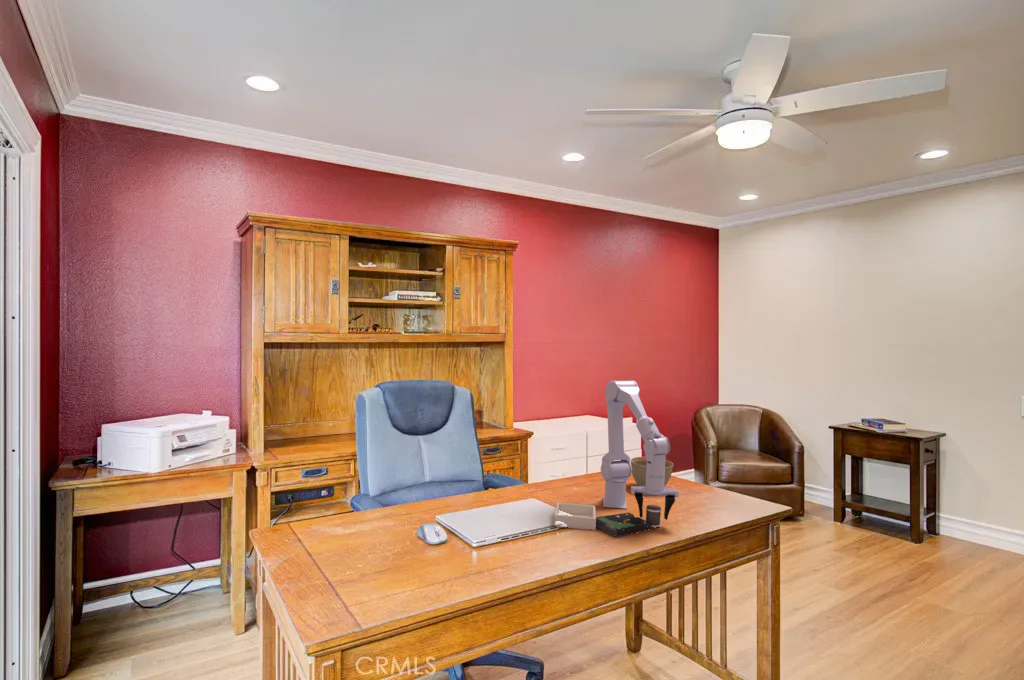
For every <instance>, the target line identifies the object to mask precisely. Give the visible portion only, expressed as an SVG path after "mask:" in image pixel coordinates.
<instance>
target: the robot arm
mask: <svg viewBox="0 0 1024 680" xmlns="http://www.w3.org/2000/svg"><path fill="white" fill-rule="evenodd" d="M640 391H641V390H640V387H639V385H638V383H637V381H636V380H610V381H609V382H608V383H607V384H606V386H605V403H606V406H607V409H606V410H607V429H608V430H607V433H608V434H607V439H608V442H607V443H608V451H607V452H606V454H605V455H603V456H602V458H601V465H600V474H601V477H602V478H603V479H604V480H605V483H604V497H602V504H603V505H602V506H603V507H604V508H610V509H623V510H624V509H626V510H627V509H628V506H627V501H626V495H627V494H626V493H627V492H626V491H627V482H628V481H629V478H630V477H631V476H632V466H631V457H630V456H629V455H628V454H627V453H625V448H624V447H625V445H624V443H625V442H624V441H625V440H624V417H623V416H624V415H623V411H624V410H623V408H624V407H625V405H626V404H627V406H628V407H629V409H630V411H631V412H632V414H633V416H634V417H635V419H636V426H635V427H636V428H637V431H638V433H639V434H640V436H641V438H642V440H643V442H644V443H643V445H642V447H643V448H642V449H643V451H644V455H645V456H644V457H645V458H646V460H647V467H646V486H638V485H637V486H633V485H631V486H630V493H631V495H634V498H635V500H636V503H637V506H638V511H639V518H641V519H643V515H644V514H643V511H644V510H643V506H644V504H643V503H644V495H648V496H649V495H650V496H660V497H661V496H662V497H663V496H664V513H663V518H664V520H665V521H666V520H668V517H669V515H670V511H671V509H672V507H673V505H674V504H675V502H676V498H679V495H680V494H679V493H680V492H679V490H678V489H676V488H675V489H674V488H667V487H664V479H665V460H667V459H666V458H667V455H668V454H669V453H670V451H671V444H670V440H669V439H668V437H666V436H664V435H663V434H662V433H660V431H659V429H658V426H657V424H656V423H655V421H654V420H653V418H652V417H649V416H648V415H647V413H646V410H645V408H644V405H643V403H642V400H641V398H640Z"/></svg>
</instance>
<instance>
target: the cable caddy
mask: <svg viewBox="0 0 1024 680" xmlns="http://www.w3.org/2000/svg"><path fill="white" fill-rule="evenodd" d="M559 510H560V511H563V512H566V513H569V514H571V515H573V516H568V515H558V513H559ZM554 513H555V514H554V522H555V521H561V522H564V523H565V524H567V526H568V528H569V529H579V530H590V529H592V530H593V531H596V527H597V526H596V517H597V513H596V505H593V504H592V505H590V504H581V503H579V504H578V503H567V502H566V503H565V502H556V505H555V512H554ZM592 530H591V531H592Z"/></svg>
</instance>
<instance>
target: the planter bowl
mask: <svg viewBox="0 0 1024 680" xmlns="http://www.w3.org/2000/svg"><path fill="white" fill-rule="evenodd" d="M630 463H631V466H632V474H631V476H632V477H633V479H634V481H635V483H636V485H637V486H646V467H647V460H646V458H645V456H635V457H633V458H630ZM673 468H674V463H673V462H672V461H669V460H668V459H665V479H664V488H666V486H667V485H668V482H669V481H670V479H671V477H672V473H673Z"/></svg>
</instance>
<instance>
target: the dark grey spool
mask: <svg viewBox="0 0 1024 680" xmlns="http://www.w3.org/2000/svg"><path fill="white" fill-rule="evenodd" d="M645 509H646V511H645V521H648V522H650V523H651V527H659V528H661V512H662V508H661V507H660V505H657V504H648V505H646V506H645Z"/></svg>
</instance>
